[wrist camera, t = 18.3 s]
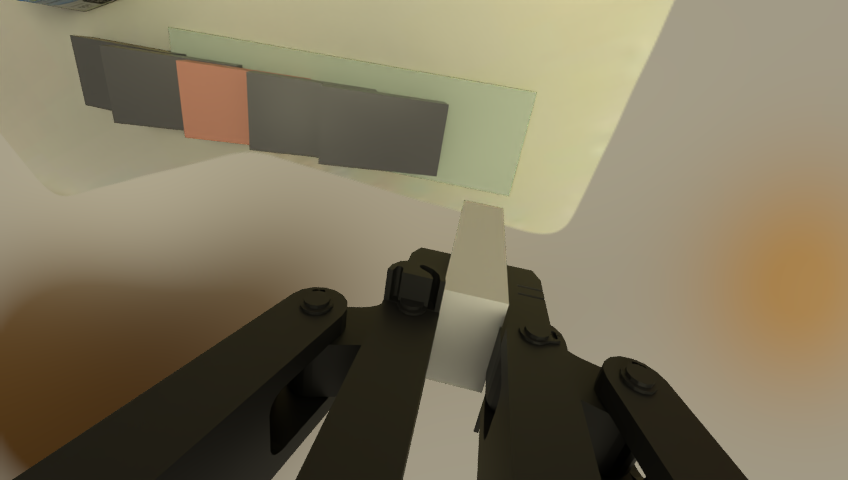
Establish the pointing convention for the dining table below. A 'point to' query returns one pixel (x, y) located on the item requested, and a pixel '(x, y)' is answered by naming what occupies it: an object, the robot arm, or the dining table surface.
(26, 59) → the dining table surface
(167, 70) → the domino
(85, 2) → the light bulb box
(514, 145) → the mat
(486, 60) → the dining table surface
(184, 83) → the orange domino
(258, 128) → the domino
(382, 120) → the domino
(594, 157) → the dining table surface
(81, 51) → the domino
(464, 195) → the dining table surface
